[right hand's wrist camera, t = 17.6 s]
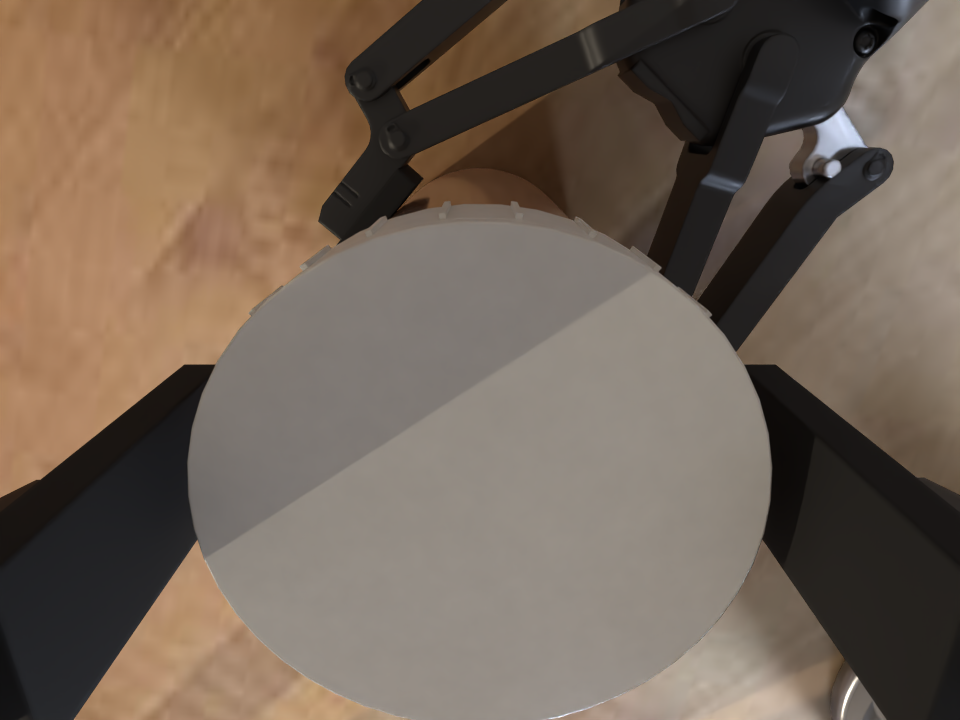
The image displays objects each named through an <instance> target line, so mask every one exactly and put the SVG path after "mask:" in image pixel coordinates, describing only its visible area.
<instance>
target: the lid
mask: <svg viewBox="0 0 960 720" xmlns="http://www.w3.org/2000/svg"><path fill="white" fill-rule="evenodd" d="M300 268H301V269H302V270H303V271H302V272H301V273H300V274H298V275H297V276H296V277H295V278H293V279H292V280H291V281H290V282H288V283H287V284H286V285H285V286H281V287H279V288H278V289H277V290H275V291H274V292H273V293H272V294H270V295H269V296H268V297H267V298H265V299H264V300H263V301H262V302H260V303H259V304H258V305H257V306H255V307H254V308H253V309H252V310H251V311H250V312H249V314H250V315H251V317H250V318H249V319H248V320H247V321H246V322H245V324H244V325H243V326H242V327H241V328H240V329H239V330H238V332H237V333H236V335H235V336H234V337H233V339H232V340H231V342H230V343H229V345H228V346H227V348H226V349H225V351H224V352H223V354H222V355H221V357H220V358H219V359H218V361H217V363H216V365H215V367H214V369H213V371H212V374H211V376H210V378H209V380H208V382H207V384H206V386H205V388H204V390H203V392H202V395H201V398H200V402H199V405H198V409H197V412H196V415H195V419H194V422H193V426H192V431H191V438H190V446H189V453H188V461H187V467H188V498H189V503H190V509H191V515H192V520H193V526H194V530H195V533H196V536H197V539H198V542H199V545H200V548H201V551H202V554H203V557H204V560H205V562H206V564H207V566H208V568H209V570H210V572H211V574H212V576H213V578H214V580H215V582H216V584H217V586H218V588H219V589H220V591H221V592H222V594H223V595H224V597H225V598H226V600H227V601H228V603H229V604H230V606H231V607H232V609H233V610H234V612H235V613H236V614H237V616H238V617H239V618H240V619H241V620H242V621H243V622H244V624H245V625H246V626H247V627H248V628H249V629H250V630H251V631H252V633H253V634H254V635H255V636H256V637H257V638H258V639H259V640H260V641H261V642H262V643H263V644H264V645H266V646H267V647H268V648H269V649H270V650H271V651H272V652H273V653H274V654H276V655H277V656H278V657H279V658H280V659H281V660H283V661H284V662H285V663H287V664H288V665H290V666H291V667H292V668H294V669H295V670H297V671H298V672H300V673H301V674H302V675H304V676H305V677H307V678H308V679H310V680H312V681H314V682H315V683H317V684H319V685H321V686H323V687H324V688H326V689H328V690H330V691H332V692H333V693H335V694H337V695H340V696H342V697H344V698H347V699H349V700H351V701H354V702H356V703H359V704H361V705H363V706H366V707H369V708H372V709H375V710H378V711H382V712H385V713H388V714H391V715H395V716H399V717H403V718H408V719H413V720H546V719H552V718H557V717H561V716H564V715H568V714H571V713H574V712H578V711H581V710H585V709H588V708H591V707H593V706H596V705H598V704H601V703H603V702H606V701H608V700H611V699H613V698H616V697H618V696H620V695H622V694H624V693H626V692H628V691H629V690H631V689H633V688H635V687H637V686H639V685H641V684H643V683H644V682H646V681H648V680H650V679H651V678H652V677H654V676H655V675H657V674H658V673H660V672H661V671H663V670H664V669H666V668H667V667H669V666H670V665H672V664H673V663H674V662H676V661H677V660H678V659H679V658H680V657H681V656H683V655H684V654H685V653H686V652H687V651H688V650H689V649H691V648H692V647H693V646H694V645H695V644H696V643H698V642H699V641H700V639H701V638H702V637H703V636H704V635H705V634H706V633H707V632H708V631H709V630H710V629H711V627H712V626H713V625H714V624H715V623H716V622H717V621H718V620H719V619H720V617H721V616H722V615H723V613H724V612H725V610H726V609H727V608H728V606H729V605H730V603H731V602H732V600H733V599H734V598H735V596H736V595H737V593H738V592H739V590H740V588H741V586H742V584H743V582H744V580H745V579H746V577H747V575H748V573H749V571H750V569H751V567H752V565H753V563H754V560H755V557H756V555H757V552H758V549H759V546H760V544H761V541H762V538H763V535H764V532H765V527H766V522H767V517H768V512H769V507H770V502H771V483H772V460H771V451H770V442H769V433H768V429H767V425H766V422H765V418H764V414H763V410H762V407H761V403H760V399H759V397H758V395H757V392H756V390H755V388H754V386H753V383H752V381H751V379H750V377H749V374H748V372H747V370H746V368H745V366H744V364H743V363H742V361H741V360H740V358H739V356H738V355H737V353H736V352H735V350H734V349H733V347H732V346H731V344H730V342H729V341H728V339H727V338H726V336H725V335H724V334H723V332H722V331H721V330H720V329H719V328H718V327H717V326H716V325H715V323H714V322H713V321H712V320H711V319H710V318H709V317H710V316H712V314H711V313H710V312H709V310H707V309H706V308H705V307H704V306H702V305H701V304H700V303H698V302H697V301H696V300H695V299H693V298H692V297H691V296H690V295H688V294H687V293H686V292H685V291H683V290H682V289H681V288H680V287H676V286H675V285H674V284H672V283H671V282H670V281H669V280H668V279H666V278H665V277H664V276H663V275H661V274H660V273H659V270H660V269H661V267H660V266H659V265H658V264H656V263H655V262H654V261H652V260H651V259H650V258H649V257H647V256H646V255H645V254H643V253H642V252H641V251H639V250H638V249H637V248H635V247H634V246H632V247H631V249H630V250H629V249H628V248H626V247H624V246H623V245H621V244H620V243H618V242H616V241H615V240H613V239H612V238H610V237H608V236H607V235H605V234H603V233H601V232H599V231H596V230H594V229H592V228H591V227H590V226H589V225H588V224H587V223H586V222H585V221H583V220H582V219H581V218H579V217H575V219H574V220H571V219H568V218H564V217H561V216H557V215H554V214H550V213H547V212H543V211H540V210H536V209H529V208H522V207H519V205H518V203H517V202H514V201H511V205H510V206H508V205H501V204H461V205H453V206H451V202H450V201H445V202H444V203H443V205H442V207H436V208H428V209H424V210H421V211H417V212H413V213H409V214H405V215H402V216H398V217H394V218H391V219H389V220H387V218H386V216H383V217H381V218H379V219H378V220H377V221H376V222H375V223H374V224H373V225H372V226H370V227H369V228H367V229H365V230H362V231H360V232H358V233H357V234H355V235H353V236H352V237H350V238H348V239H346V240H345V241H343V242H341V243H340V244H338V245H336V246H335V247H333V248H330V246H329V245H327V246H326V247H324V248H323V249H322V250H320V251H319V252H318V253H316V254H315V255H314V256H312V257H311V258H310V259H308V260H307V261H306V262H305V263H303V264H302V265H301V266H300Z"/></svg>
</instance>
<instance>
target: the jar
mask: <svg viewBox="0 0 960 720" xmlns="http://www.w3.org/2000/svg"><path fill="white" fill-rule="evenodd" d="M445 201H450V202H451V206H453V205H461V204H501V205H508V206H510V205H511V201H514V202H517V203H518V205H519V207H522V208H529V209H536V210H540V211H543V212H547V213H550V214H554V215H557V216H561V217H564V218H568V219H570V218H569V217H568V216H567V215H566V214H565V213H564V212H563V211H562V210H561V209H560V208H559V207H558V206H557V205H556V204H555V203H554V202H553V201H552V200H551V199H550V198H549V197H548V196H547V195H546V194H545V193H543V192H542V191H541V190H540V189H539V188H537V187H536V186H535V185H533V184H532V183H530V182H529V181H527V180H525V179H523V178H521V177H519V176H517V175H514V174H511V173H509V172H505V171H501V170H496V169H487V168H472V169H464V170H459V171H454V172H451V173H448V174H445V175H443V176H441V177H439V178H437V179H435V180H433V181H431V182H429V183H428V184H427V185H425V186H424V187H422V188H421V189H420V190H418V191H417V192H416V193H415V194H414V195H413V196H412V197H411V198H410V199H409V200H408V201H407V202H406V203H405V204H404V205H403V206H402V207H401V208H400V209H399V210H398V211H397V212H396V213H395V214H394V215H393V216H392V217H391V218H394V217H398V216H402V215H405V214H409V213H413V212H417V211H421V210H424V209H428V208H436V207H442V205H443V203H444V202H445ZM391 218H390V219H391Z"/></svg>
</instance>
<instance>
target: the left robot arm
mask: <svg viewBox="0 0 960 720" xmlns="http://www.w3.org/2000/svg"><path fill="white" fill-rule="evenodd" d="M506 1H507V0H422V1H421V2H420V3H419V4H417V5H416V6H415V7H414V8H413V9H412V10H411V11H409V12H408V13H407V14H406V15H405V16H404V17H403V18H401V19H400V20H399V21H398V22H397V23H396V24H395V25H393V26H392V27H391V28H390V29H389V30H388V31H387V32H385V33H384V34H383V35H382V36H381V37H380V38H378V39H377V40H376V41H375V42H374V43H373V44H372V45H370V46H369V47H368V48H367V49H366V50H365V51H364V52H362V53H361V54H360V55H359V56H358V57H357V58H356V59H354V60H353V61H352V62H351V63H350V65H349V66H348V67H347V69H346V73H345V84H346V87H347V89H348V91H349V93H350V94H351V95H353V96H354V97H355V99H356V101H357V102H358V104H359V106H360V108H361V109H362V111H363V113H364V115H365V117H366V118H367V120H368V123H369V125H370V130H371V139H370V142H369V145H368V147H367V148H366V150H365V151H364V153H363V154H362V155H361V157H360V158H359V159H358V160H357V162H356V163H355V164H354V166H353V167H352V168H351V169H350V171H349V172H348V173H347V175H346V176H345V177H344V179H343V180H342V181H341V183H340V184H339V185H338V186H337V188H336V189H335V190H334V192H333V193H332V194H331V195H330V197H329V198H328V199H327V201H326V202H325V203H324V204H323V206H322V209H321V213H320V217H319V221H318V222H320V223H321V224H322V225H323V226H324V227H326V228H327V229H328V230H329V231H330V232H332V233H333V234H334V235H335V236H336V237H338V238H339V239H340V241H339V243H338V244H340V243H341V242H343V241H345V240H346V239H348V238H350V237H352V236H353V235H355V234H357V233H358V232H360V231H362V230H365V229H367V228H369V227H370V226H372V225H373V224H374V223H375V222H376V221H377V220H378V219H379V218H381V217H383V216H386V218H387V220H389V219H390V218H391V217H392V216H393V215H394V214H395V213H396V212H397V210H398V209H399V208H400V207H401V205H402V204H403V203H404V202H405V201H406V199H407V198H408V197H409V196H410V194H411V193H412V192H413V191H414V190H415V188H416V187H417V186H418V185H419V183H420V182H421V181H422V180H423V178H422V177H421V176H420V175H419V174H418V173H417V172H416V171H414V170H413V169H412V168H411V167H410V166H409V165H408V163H409V161H410V160H411V159H412V158H413V156H414V155H415V154H416V153H419V152H421V151H423V150H425V149H427V148H430V147H432V146H434V145H436V144H438V143H440V142H443V141H445V140H447V139H449V138H451V137H454V136H456V135H458V134H460V133H462V132H465V131H467V130H469V129H471V128H473V127H476V126H478V125H480V124H482V123H484V122H487V121H489V120H491V119H493V118H495V117H498V116H500V115H502V114H504V113H506V112H509V111H511V110H513V109H515V108H517V107H520V106H522V105H524V104H526V103H528V102H531V101H533V100H535V99H537V98H539V97H541V96H544V95H546V94H548V93H550V92H552V91H555V90H557V89H559V88H561V87H563V86H566V85H568V84H570V83H572V82H574V81H577V80H579V79H581V78H583V77H586V76H588V75H590V74H592V73H594V72H597V71H599V70H601V69H603V68H605V67H608V66H610V65H612V64H614V63H617V65H618V68H619V70H620V73H619V74H618V76H619V77H620V78H621V79H622V80H623V82H624V83H625V84H626V85H627V86H628V87H629V88H630V89H631V90H632V91H633V92H635V93H637V94H638V95H640V96H642V97H644V98H645V99H647V100H649V101H651V102H652V103H654V104H655V106H656V108H657V110H658V111H659V113H660V115H661V117H662V119H663V121H664V123H665V125H666V126H667V127H668V128H669V129H670V130H671V131H672V132H673V133H674V134H675V135H676V136H677V137H678V138H679V139H680V140H681V141H686V142H685V145H684V147H683V150H682V153H681V155H680V158H679V161H678V164H677V169H676V172H677V176H676V180H675V183H674V186H673V189H672V191H671V194H670V197H669V199H668V202H667V205H666V207H665V210H664V213H663V215H662V218H661V221H660V223H659V226H658V229H657V231H656V234H655V237H654V239H653V242H652V245H651V247H650V250H649V253H648V255H647V257H649V258H650V259H651V260H652V261H654V262H655V263H656V264H658V265H659V266H660V267H661V269H660V270H659V273H660V274H661V275H663V276H664V277H665V278H666V279H668V280H669V281H670V282H671V283H672V284H674V285H675V286H676V287H680V288H681V289H682V290H683V291H685V292H686V293H687V294H688V295H690V296H691V297H692V295H693V293H694V290H695V288H696V285H697V283H698V281H699V278H700V276H701V273H702V271H703V268H704V266H705V263H706V261H707V259H708V256H709V254H710V251H711V249H712V246H713V244H714V241H715V239H716V237H717V234H718V232H719V229H720V227H721V224H722V222H723V219H724V217H725V215H726V212H727V210H728V207H729V205H730V202H731V200H732V198H733V196H734V194H735V192H736V191H737V190H739V189H740V188H741V187H742V186H743V184H744V183H745V181H746V179H747V177H748V175H749V173H750V170H751V168H752V165H753V163H754V161H755V158H756V156H757V153H758V151H759V148H760V146H761V144H762V141H763V139H764V137H767V136H772V135H776V134H780V133H785V132H789V131H793V130H798V129H802V130H803V134H804V140H803V144H802V147H801V149H800V150H799V151H798V153H797V154H796V155H795V156H794V158H793V159H792V160H791V162H790V164H789V169H790V175H791V177H790V178H789V179H788V180H787V181H786V182H785V183H784V184H783V185H782V186H781V187H780V188H779V189H778V190H777V191H776V192H775V193H774V194H773V196H772V197H771V198H770V199H769V201H768V202H767V203H766V205H765V206H764V207H763V209H762V210H761V212H760V213H759V214H758V216H757V217H756V219H755V220H754V222H753V223H752V224H751V226H750V227H749V229H748V230H747V231H746V233H745V234H744V236H743V237H742V239H741V240H740V241H739V243H738V244H737V246H736V247H735V248H734V250H733V251H732V253H731V254H730V256H729V257H728V258H727V260H726V261H725V263H724V264H723V266H722V267H721V268H720V270H719V271H718V273H717V274H716V275H715V277H714V278H713V280H712V281H711V283H710V284H709V285H708V287H707V288H706V290H705V291H704V292H703V294H702V295H701V297H700V298H699V300H698V301H697V302H698V303H700V304H701V305H702V306H704V307H705V308H706V309H707V310H709V312H710V313H711V314H712V316H710V317H709V318H710V319H711V320H712V321H713V322H714V323H715V325H716V326H717V327H718V328H719V329H720V330H721V331H722V332H723V334H724V335H725V336H726V338H727V339H728V341H729V342H730V344H731V346H732V347H733V349H734V350H735V352H736V351H737V350H738V349H739V347H740V346H741V345H742V343H743V342H744V341H745V339H746V338H747V337H748V335H749V334H750V333H751V331H752V330H753V329H754V327H755V326H756V325H757V323H758V322H759V321H760V319H761V318H762V317H763V315H764V314H765V313H766V311H767V310H768V309H769V307H770V306H771V305H772V303H773V302H774V301H775V299H776V298H777V297H778V295H779V294H780V293H781V291H782V290H783V289H784V287H785V286H786V285H787V283H788V282H789V281H790V279H791V278H792V277H793V275H794V274H795V273H796V271H797V270H798V269H799V267H800V266H801V265H802V263H803V262H804V261H805V259H806V258H807V257H808V255H809V254H810V253H811V251H812V250H813V249H814V247H815V246H816V245H817V243H818V242H819V241H820V239H821V238H822V237H823V235H824V234H825V233H826V231H827V230H828V229H829V227H830V226H831V225H832V223H833V222H834V221H835V219H836V218H837V217H838V216H840V215H841V214H842V213H844V212H845V211H846V210H848V209H849V208H850V207H852V206H853V205H854V204H856V203H857V202H858V201H860V200H861V199H862V198H864V197H865V196H866V195H868V194H869V193H870V192H872V191H873V190H874V189H876V188H877V187H879V186H880V185H881V184H883V183H884V182H885V181H886V180H887V179H888V178H889V176H890V174H891V172H892V170H893V164H894V161H893V158H892V155H891V154H890V153H889V152H888V151H887V150H885V149H882V148H874V147H867V146H866V145H865V143H864V141H863V140H862V138H861V136H860V135H859V133H858V131H857V130H856V128H855V126H854V125H853V123H852V122H851V120H850V118H849V117H848V115H847V113H846V112H845V110H844V108H843V107H842V106H843V105H844V103H845V102H846V100H847V98H848V96H849V94H850V91H851V88H852V85H853V83H854V81H855V79H856V77H857V75H858V73H859V71H860V69H861V68H862V66H863V65H864V64H865V62H866V61H867V60H868V59H869V58H870V57H871V56H872V55H873V54H874V53H875V52H876V51H877V50H878V49H879V48H880V47H882V46H883V45H884V44H885V43H886V42H887V41H888V40H889V39H890V38H891V37H892V36H894V35H895V34H896V33H897V32H898V31H899V30H900V29H901V28H902V27H903V26H904V25H905V24H906V23H907V22H908V21H909V20H910V19H911V18H912V17H913V16H914V15H915V14H916V12H917V11H918V10H919V9H920V8H921V7H922V6H923V5H924V4H925V3H926V2H927V1H928V0H620V7H619V12H617V13H614V14H612V15H610V16H608V17H606V18H604V19H602V20H599V21H597V22H595V23H593V24H591V25H589V26H587V27H586V28H584V29H582V30H580V31H578V32H576V33H574V34H572V35H570V36H568V37H566V38H564V39H562V40H559V41H557V42H555V43H553V44H551V45H549V46H547V47H544V48H542V49H540V50H538V51H536V52H534V53H532V54H529V55H527V56H525V57H523V58H521V59H519V60H517V61H514V62H512V63H510V64H508V65H506V66H504V67H502V68H499V69H497V70H495V71H493V72H491V73H489V74H487V75H484V76H482V77H480V78H478V79H476V80H474V81H472V82H469V83H467V84H465V85H463V86H461V87H459V88H457V89H454V90H452V91H450V92H448V93H446V94H444V95H442V96H439V97H437V98H435V99H433V100H431V101H429V102H427V103H424V104H422V105H420V106H418V107H416V108H414V109H412V110H409V108H408V106H407V104H406V102H405V100H404V99H403V97H402V95H401V93H400V90H401V89H403V88H404V87H405V86H406V85H407V84H409V83H410V82H411V81H412V80H413V79H414V78H416V77H417V76H418V75H419V74H420V73H422V72H423V71H424V70H425V69H426V68H428V67H429V66H430V65H431V64H432V63H433V62H435V61H436V60H437V59H438V58H439V57H441V56H442V55H443V54H444V53H445V52H447V51H448V50H449V49H450V48H451V47H452V46H454V45H455V44H456V43H457V42H458V41H460V40H461V39H462V38H463V37H464V36H466V35H467V34H468V33H469V32H470V31H471V30H473V29H474V28H475V27H476V26H477V25H479V24H480V23H481V22H482V21H483V20H485V19H486V18H487V17H488V16H489V15H491V14H492V13H493V12H494V11H495V10H496V9H498V8H499V7H500V6H501V5H502V4H504V3H505V2H506ZM338 244H337V245H338ZM830 708H831V718H832V720H886V718H885V717H884V715H883V714H882V712H881V711H880V709H879V708H878V707H877V705H876V704H875V702H874V701H873V699H872V698H871V696H870V695H869V693H868V692H867V691H866V689H865V688H864V686H863V685H862V683H861V682H860V680H859V679H858V677H857V676H856V675H855V673H854V672H853V670H852V669H851V667H850V666H849V664H848V663H847V661H846V660H845V661H844V663H843V665H842V666H841V668H840V670H839V672H838V674H837V677H836V680H835V682H834V685H833V689H832V694H831V702H830Z"/></svg>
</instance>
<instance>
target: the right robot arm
mask: <svg viewBox="0 0 960 720" xmlns="http://www.w3.org/2000/svg"><path fill="white" fill-rule="evenodd" d="M744 366H745V368H746V370H747V372H748V374H749V377H750V379H751V381H752V383H753V386H754V388H755V390H756V392H757V395H758V397H759V399H760V403H761V407H762V410H763V414H764V418H765V422H766V425H767V429H768V433H769V442H770V451H771V460H772V483H771V502H770V507H769V512H768V517H767V522H766V527H765V532H764V535H763V538H762V539H763V541H764V542H765V544H766V545H767V547H768V548H769V549H770V551H771V552H772V554H773V555H774V557H775V558H776V560H777V561H778V563H779V564H780V565H781V567H782V568H783V570H784V571H785V573H786V574H787V576H788V577H789V579H790V580H791V581H792V583H793V584H794V586H795V587H796V589H797V590H798V592H799V593H800V595H801V596H802V597H803V599H804V600H805V602H806V603H807V605H808V606H809V608H810V609H811V611H812V612H813V613H814V615H815V616H816V618H817V619H818V621H819V622H820V624H821V625H822V627H823V628H824V629H825V631H826V632H827V634H828V635H829V637H830V638H831V640H832V641H833V643H834V644H835V645H836V647H837V648H838V650H839V651H840V653H841V654H842V656H843V657H844V659H845V660H846V661H847V663H848V664H849V666H850V667H851V669H852V670H853V672H854V673H855V675H856V676H857V677H858V679H859V680H860V682H861V683H862V685H863V686H864V688H865V689H866V691H867V692H868V693H869V695H870V696H871V698H872V699H873V701H874V702H875V704H876V705H877V707H878V708H879V709H880V711H881V712H882V714H883V715H884V717H885V718H886V720H960V495H958V494H956V493H954V492H952V491H950V490H948V489H946V488H944V487H942V486H940V485H938V484H936V483H934V482H932V481H930V480H928V479H926V478H917V477H915V476H914V475H913V474H912V473H910V472H909V471H908V470H907V469H905V468H904V467H903V466H902V465H900V464H899V463H898V462H897V461H895V460H894V459H893V458H892V457H890V456H889V455H888V454H887V453H885V452H884V451H883V450H882V449H880V448H879V447H878V446H877V445H875V444H874V443H873V442H872V441H870V440H869V439H868V438H867V437H865V436H864V435H863V434H862V433H860V432H859V431H858V430H857V429H855V428H854V427H853V426H852V425H850V424H849V423H848V422H847V421H845V420H844V419H843V418H842V417H840V416H839V415H838V414H837V413H835V412H834V411H833V410H832V409H830V408H829V407H828V406H827V405H825V404H824V403H823V402H822V401H820V400H819V399H818V398H817V397H815V396H814V395H813V394H812V393H810V392H809V391H808V390H807V389H805V388H804V387H803V386H802V385H800V384H799V383H798V382H797V381H795V380H794V379H793V378H792V377H790V376H789V375H788V374H787V373H785V372H784V371H783V370H782V369H780V368H779V367H778V366H777V365H744ZM214 367H215V365H183V366H182V367H181V368H180V369H178V370H177V371H176V372H175V373H173V374H172V375H171V376H170V377H168V378H167V379H166V380H165V381H163V382H162V383H161V384H160V385H158V386H157V387H156V388H155V389H153V390H152V391H151V392H150V393H148V394H147V395H146V396H145V397H143V398H142V399H141V400H140V401H138V402H137V403H136V404H135V405H133V406H132V407H131V408H130V409H128V410H127V411H126V412H125V413H123V414H122V415H121V416H120V417H118V418H117V419H116V420H115V421H113V422H112V423H111V424H110V425H108V426H107V427H106V428H105V429H103V430H102V431H101V432H100V433H98V434H97V435H96V436H95V437H93V438H92V439H91V440H90V441H88V442H87V443H86V444H85V445H83V446H82V447H81V448H80V449H78V450H77V451H76V452H75V453H73V454H72V455H71V456H70V457H68V458H67V459H66V460H65V461H63V462H62V463H61V464H60V465H58V466H57V467H56V468H55V469H53V470H52V471H51V472H50V473H48V474H47V475H46V476H45V477H43V478H42V479H41V480H35V481H33V482H31V483H29V484H27V485H25V486H23V487H21V488H19V489H17V490H15V491H13V492H11V493H9V494H7V495H5V496H3V497H1V498H0V720H74V718H75V717H76V715H77V714H78V712H79V711H80V709H81V708H82V707H83V705H84V704H85V702H86V701H87V699H88V698H89V696H90V695H91V693H92V692H93V691H94V689H95V688H96V686H97V685H98V683H99V682H100V680H101V679H102V677H103V676H104V675H105V673H106V672H107V670H108V669H109V667H110V666H111V664H112V663H113V661H114V660H115V659H116V657H117V656H118V654H119V653H120V651H121V650H122V648H123V647H124V645H125V644H126V643H127V641H128V640H129V638H130V637H131V635H132V634H133V632H134V631H135V629H136V628H137V627H138V625H139V624H140V622H141V621H142V619H143V618H144V616H145V615H146V613H147V612H148V611H149V609H150V608H151V606H152V605H153V603H154V602H155V600H156V599H157V597H158V596H159V595H160V593H161V592H162V590H163V589H164V587H165V586H166V584H167V583H168V581H169V580H170V579H171V577H172V576H173V574H174V573H175V571H176V570H177V568H178V567H179V565H180V564H181V563H182V561H183V560H184V558H185V557H186V555H187V554H188V552H189V551H190V549H191V548H192V546H193V545H194V544H195V542H196V541H197V536H196V533H195V530H194V526H193V520H192V515H191V509H190V503H189V498H188V467H187V461H188V453H189V446H190V438H191V431H192V426H193V422H194V419H195V415H196V412H197V409H198V405H199V402H200V398H201V395H202V392H203V390H204V388H205V386H206V384H207V382H208V380H209V378H210V376H211V374H212V371H213V369H214Z"/></svg>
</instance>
